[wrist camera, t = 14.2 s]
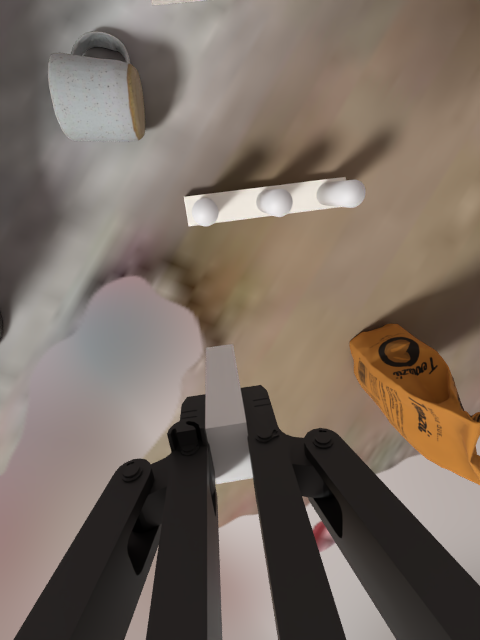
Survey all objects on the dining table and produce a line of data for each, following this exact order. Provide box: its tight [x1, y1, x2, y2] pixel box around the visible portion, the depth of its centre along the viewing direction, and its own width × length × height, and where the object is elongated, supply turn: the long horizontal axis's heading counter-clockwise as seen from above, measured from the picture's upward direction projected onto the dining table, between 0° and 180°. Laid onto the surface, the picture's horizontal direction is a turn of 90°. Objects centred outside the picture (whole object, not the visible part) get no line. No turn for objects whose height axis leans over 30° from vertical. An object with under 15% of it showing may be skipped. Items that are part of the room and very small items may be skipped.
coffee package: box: [350, 324, 480, 485], centre depth 43 cm, size 10×12×22 cm
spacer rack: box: [151, 0, 365, 226], centre depth 34 cm, size 21×27×10 cm
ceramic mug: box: [48, 31, 145, 142], centre depth 33 cm, size 11×8×8 cm
